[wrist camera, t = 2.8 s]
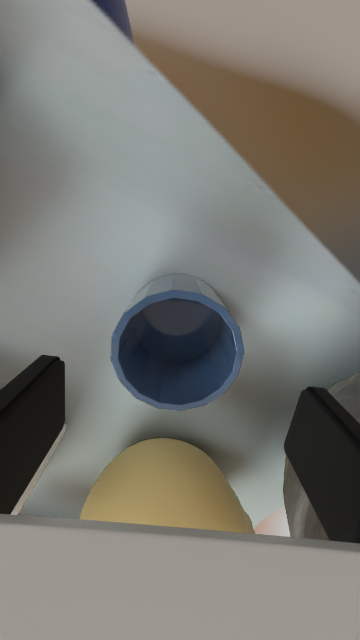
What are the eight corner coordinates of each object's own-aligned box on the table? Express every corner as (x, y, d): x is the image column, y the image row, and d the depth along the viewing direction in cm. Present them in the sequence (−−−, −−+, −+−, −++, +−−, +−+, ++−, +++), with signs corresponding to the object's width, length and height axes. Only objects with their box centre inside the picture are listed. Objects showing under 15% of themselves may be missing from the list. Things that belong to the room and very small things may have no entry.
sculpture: (169, 532, 25) (165, 733, 15) (74, 470, 22) (-11, 668, 12) (256, 471, 23) (322, 664, 13) (161, 394, 20) (146, 561, 10)
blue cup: (134, 267, 17) (114, 281, 11) (232, 280, 17) (257, 300, 12) (127, 356, 19) (108, 403, 14) (214, 366, 19) (228, 415, 14)
